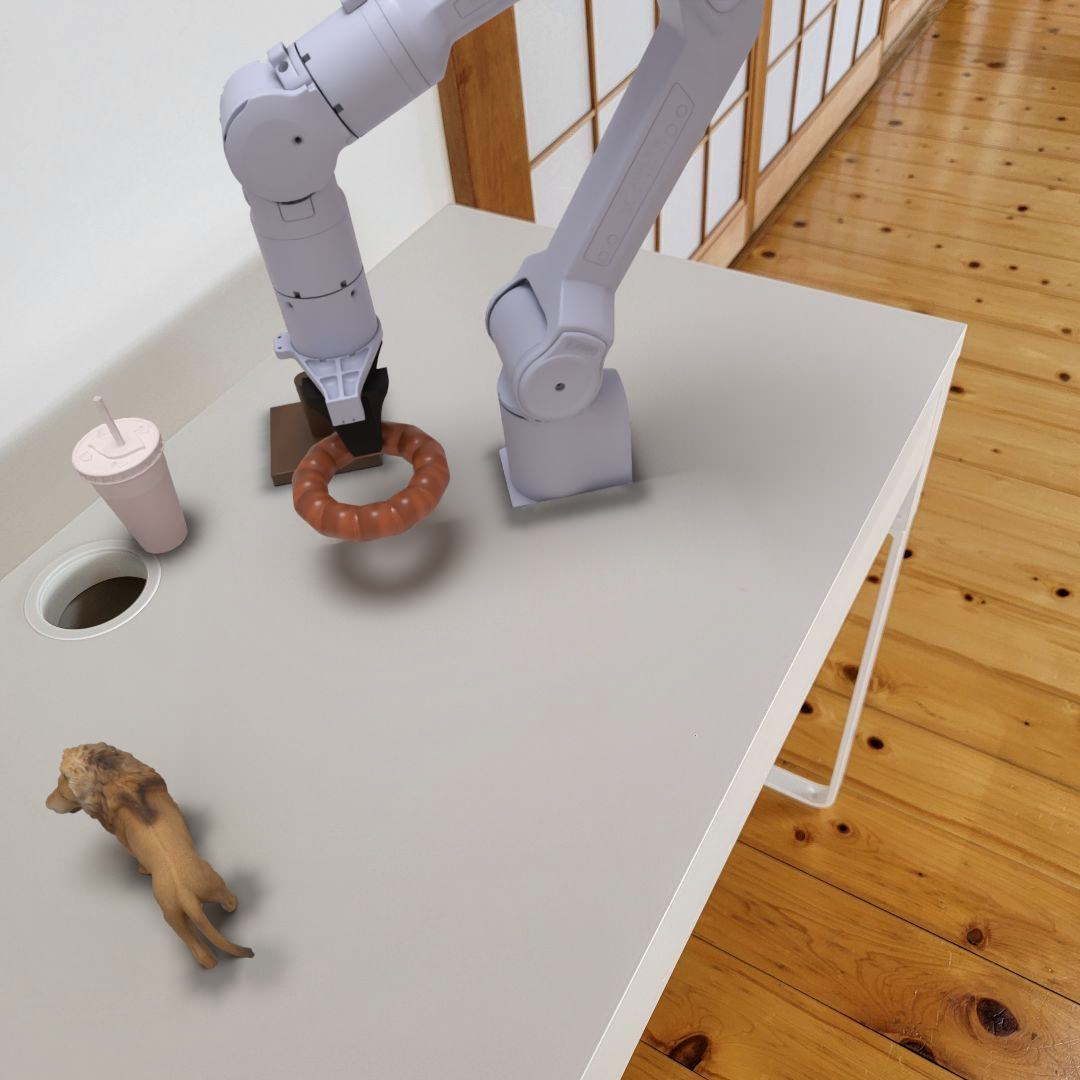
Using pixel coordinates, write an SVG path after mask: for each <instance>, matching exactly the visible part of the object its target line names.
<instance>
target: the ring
mask: <svg viewBox="0 0 1080 1080" xmlns="http://www.w3.org/2000/svg"><path fill="white" fill-rule="evenodd" d="M381 423H382V451H381V452H379V453H374V454H369V455H364V456H359V457H353V455H352V454H351V453H350V452H349V450H348V449H347V448H346V446H345V445H344V443H343V441H342V440H341V438H340V437H339V435H338V434H337V432H335V433H333V434H331V435H330V436H328V437H326V438H325V439H323V440H321V441H320V442H318V443H316V444H315V445H313V446H312V447H311V448H310V449H309V451H308V452H307V454H306V455H305V456H304V458H303V459H302V461H301V462H300V464H299V465H298V467H297V468H296V470H295V471H294V473H293V476H292V482H291V489H292V491H291V492H292V500H293V501H292V503H293V509H294V511H295V513H296V514H297V515H298V516H300V518H301V519H302V520H304V522H306V524H308V525H309V526H310V527H311V528H312V529H313V530H314V531H316V533H318V534H320V535H321V536H324V537H326V538H332V539H337V540H342V541H347V542H352V543H367V542H372V541H376V540H380V539H381V540H382V539H386V538H389V537H394V536H395V537H396V536H398V535H401V534H403V533H405V532H407V531H408V530H409V529H411V528H413V527H414V526H415V525H417V524H419V523H420V522H421V521H423V520H424V519H425V518H427V517H428V516H430V515H431V514H433V513H434V512H435V510H436V509H437V507H438V505H439V504H440V501H441V500H442V498H443V496H444V494H445V491H446V490H447V488H448V487H449V484H450V481H451V472H450V468H449V464H448V460H447V456H446V451H445V449H444V447H443V445H442V444H441V443H440V442H439V441H437V440H436V439H435V438H434V437H432V436H431V435H430V434H428V433H427V432H425V431H424V430H423V429H422V428H420V427H418V426H417V425H414V424H409V423H402V422H396V421H390V420H382V419H381ZM378 454H382V455H386V456H393V457H398V458H402V459H404V460H405V461H406V462H407V463H409V464H411V465H412V470H413V475H412V477H411V478H410V481H409V482H408V484H407V485H406V487H405V488H403V489H401V490H400V491H398V492H397V493H395V494H394V495H392V496H391V497H389V498H388V499H385V500H380V501H377V502H372V503H367V504H363V505H357V504H351V503H345V502H339V501H338V500H336V499H335V498H334V497H333V496H332V495H330V493H329V484H330V483H331V481H332V479H333V477H334V476H335V475H336V474H337V473H336V471H338V470H339V469H341V468H343V467H344V466H346V465H347V464H349V463H351V462H352V461H354V460H355V459H359V458H364V457H368V456H373V455H378ZM335 473H336V474H335Z"/></svg>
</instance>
